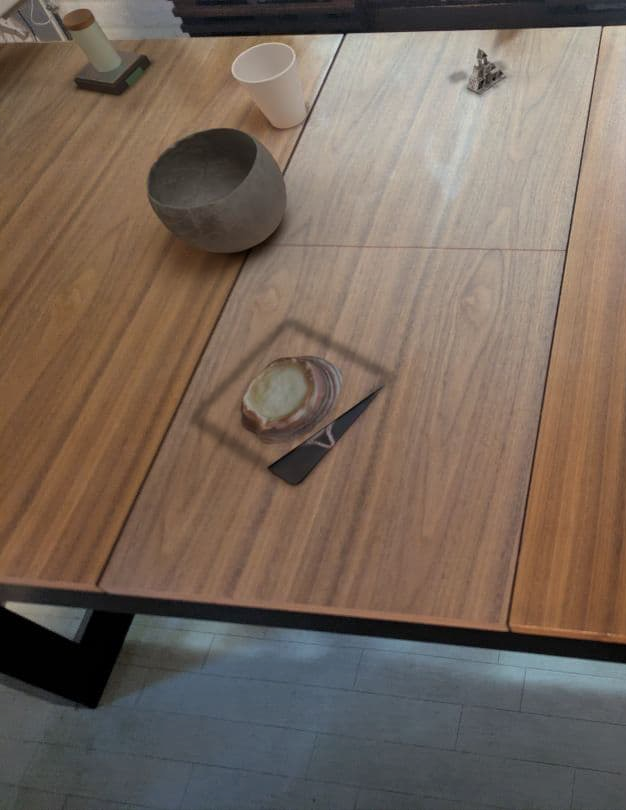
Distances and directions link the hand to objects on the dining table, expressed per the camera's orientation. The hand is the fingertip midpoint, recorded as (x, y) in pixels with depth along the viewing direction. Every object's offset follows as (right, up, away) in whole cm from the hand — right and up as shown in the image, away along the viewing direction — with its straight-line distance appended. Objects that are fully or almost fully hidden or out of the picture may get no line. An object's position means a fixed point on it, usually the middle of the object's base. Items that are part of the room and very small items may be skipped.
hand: (42, 23), depth 144 cm
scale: (+11, -8, +7) cm, 16 cm away
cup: (+53, -22, -6) cm, 57 cm away
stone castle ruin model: (+90, -14, -4) cm, 91 cm away
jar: (+11, -6, +4) cm, 13 cm away
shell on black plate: (+65, -77, -40) cm, 109 cm away
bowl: (+50, -48, -20) cm, 72 cm away
